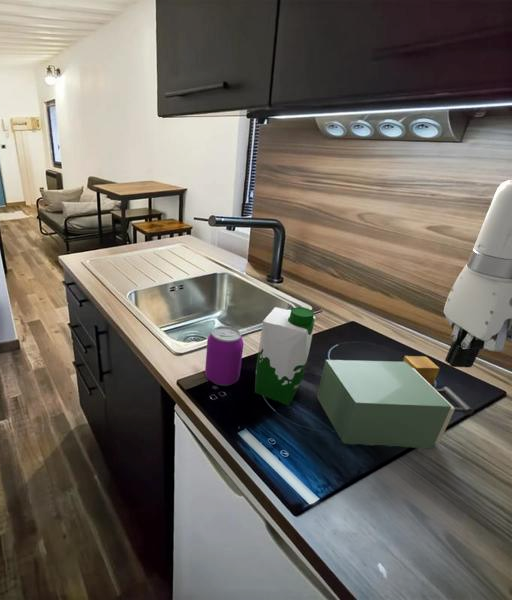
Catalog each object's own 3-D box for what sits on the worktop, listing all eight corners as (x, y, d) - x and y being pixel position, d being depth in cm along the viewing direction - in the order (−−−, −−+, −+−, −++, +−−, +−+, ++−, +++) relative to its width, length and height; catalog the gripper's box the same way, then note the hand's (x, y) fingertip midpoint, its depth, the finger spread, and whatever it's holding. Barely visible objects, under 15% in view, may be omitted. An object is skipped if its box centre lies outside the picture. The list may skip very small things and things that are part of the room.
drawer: (431, 400, 73) (444, 368, 70) (474, 444, 63) (492, 410, 60) (330, 396, 76) (338, 365, 72) (356, 438, 65) (367, 404, 62)
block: (420, 372, 82) (426, 356, 80) (433, 385, 78) (439, 368, 76) (398, 371, 83) (404, 355, 81) (410, 384, 79) (416, 367, 77)
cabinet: (392, 400, 75) (405, 361, 71) (432, 448, 64) (451, 406, 60) (316, 397, 77) (325, 359, 73) (343, 444, 66) (355, 402, 62)
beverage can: (210, 389, 81) (213, 343, 76) (201, 368, 88) (203, 325, 83) (244, 386, 81) (250, 341, 76) (232, 366, 88) (237, 323, 83)
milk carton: (292, 410, 74) (310, 324, 65) (248, 393, 79) (259, 311, 71) (304, 387, 80) (321, 306, 71) (262, 373, 85) (274, 295, 77)
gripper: (581, 284, 48) (520, 394, 56) (490, 249, 61) (451, 342, 69) (516, 283, 49) (465, 391, 57) (440, 249, 62) (407, 340, 70)
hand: (457, 364), depth 63 cm, fingers closed
